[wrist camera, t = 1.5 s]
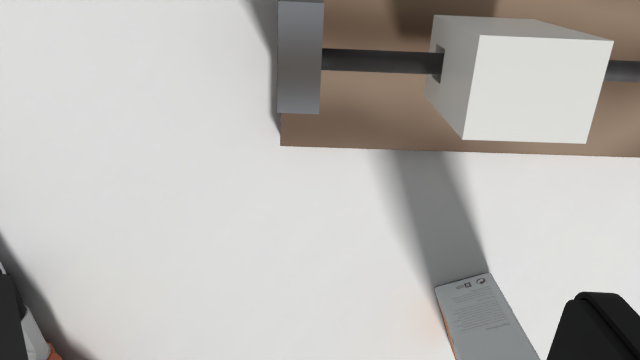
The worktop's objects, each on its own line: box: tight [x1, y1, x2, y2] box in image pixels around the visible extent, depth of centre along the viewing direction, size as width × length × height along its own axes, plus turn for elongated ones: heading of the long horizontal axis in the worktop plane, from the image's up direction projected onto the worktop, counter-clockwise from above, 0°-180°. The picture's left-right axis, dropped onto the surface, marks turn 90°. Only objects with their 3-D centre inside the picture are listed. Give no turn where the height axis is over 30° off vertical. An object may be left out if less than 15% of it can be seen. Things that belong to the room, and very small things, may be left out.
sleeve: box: [423, 15, 614, 144], centre depth 22 cm, size 4×5×7 cm
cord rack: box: [277, 0, 640, 157], centre depth 26 cm, size 12×30×8 cm, turn 87°
